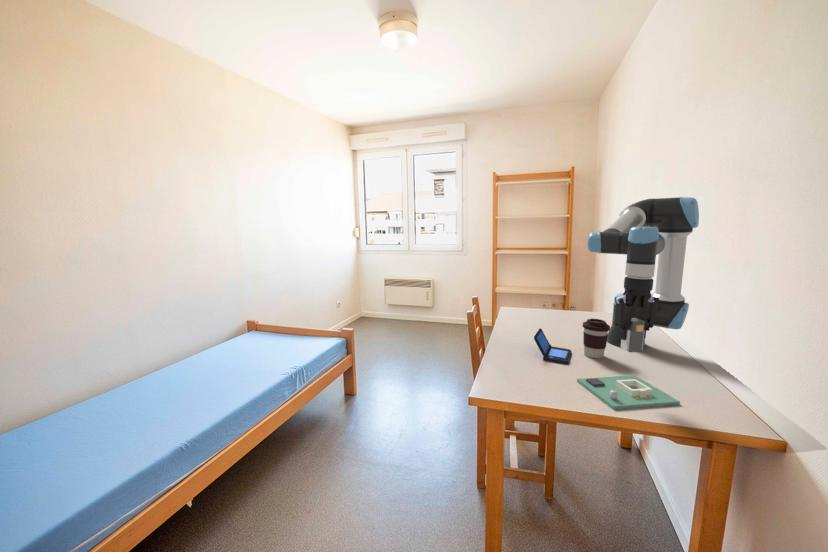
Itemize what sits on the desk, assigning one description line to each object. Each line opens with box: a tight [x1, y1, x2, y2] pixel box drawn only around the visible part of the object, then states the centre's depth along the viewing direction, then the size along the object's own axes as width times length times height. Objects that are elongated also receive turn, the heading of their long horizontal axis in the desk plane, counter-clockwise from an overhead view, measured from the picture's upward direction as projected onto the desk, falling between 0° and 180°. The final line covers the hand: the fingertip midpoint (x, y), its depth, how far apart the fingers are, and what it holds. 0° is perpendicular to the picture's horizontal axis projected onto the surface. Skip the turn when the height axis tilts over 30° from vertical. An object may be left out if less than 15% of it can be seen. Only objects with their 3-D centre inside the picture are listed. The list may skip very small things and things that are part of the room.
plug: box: [627, 318, 645, 353], centre depth 107 cm, size 4×5×10 cm
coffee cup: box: [582, 318, 611, 359], centre depth 140 cm, size 10×10×15 cm
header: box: [615, 379, 652, 397], centre depth 109 cm, size 7×8×2 cm
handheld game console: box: [533, 327, 572, 365], centre depth 141 cm, size 16×13×9 cm
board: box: [576, 374, 681, 410], centre depth 110 cm, size 22×18×3 cm
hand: (631, 348), depth 108 cm, fingers closed on plug, 4 cm apart
